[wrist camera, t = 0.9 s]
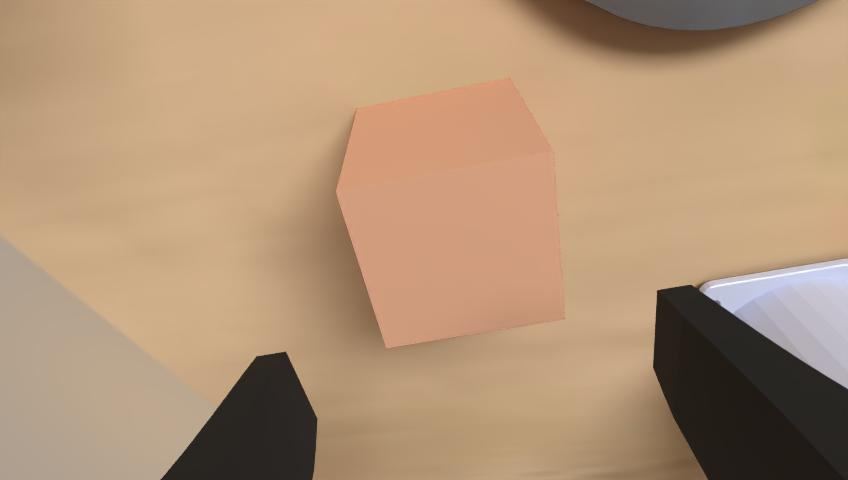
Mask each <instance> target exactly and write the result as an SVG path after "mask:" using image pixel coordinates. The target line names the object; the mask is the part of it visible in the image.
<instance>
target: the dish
mask: <svg viewBox="0 0 848 480" xmlns="http://www.w3.org/2000/svg"><path fill="white" fill-rule="evenodd" d="M586 1H588V2H589V3H591V4H593V5H595V6H598V7H600V8H602V9H604V10H606V11H608V12H610V13H612V14H614V15H616V16H618V17H621V18H624V19H628V20H631V21H634V22H638V23H641V24H644V25H647V26H653V27H660V28H667V29H674V30H716V29H723V28H730V27H737V26H744V25H748V24H752V23H756V22H759V21H763V20H767V19H770V18H774V17H778V16H781V15H783V14H786V13H788V12H791V11H793V10H796V9H798V8H801V7H803V6H806V5H809V4H811V3H813V2H815V1H817V0H586Z"/></svg>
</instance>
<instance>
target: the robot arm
mask: <svg viewBox="0 0 848 480" xmlns="http://www.w3.org/2000/svg"><path fill="white" fill-rule="evenodd" d="M714 300H715V301H714ZM653 368H654V371H655V373H656V376H657V378H658V381H659V383H660V386H661V388H662V391H663V393H664V396H665V398H666V400H667V403H668V405H669V407H670V410H671V412H672V415H673V417H674V419H675V421H676V422H677V424H678V426H679V428H680V430H681V432H682V433H683V435H684V437H685V439H686V441H687V442H688V444H689V446H690V448H691V450H692V451H693V453H694V455H695V457H696V459H697V460H698V462H699V464H700V466H701V467H702V469H703V471H704V473H705V475H706V476H707V478H708V480H848V258H846V259H840V260H834V261H827V262H821V263H815V264H809V265H803V266H797V267H791V268H785V269H779V270H773V271H767V272H761V273H755V274H749V275H743V276H737V277H731V278H725V279H719V280H713V281H709V282H706V283H705V284H703V285H702V286H701V287H700V289H699V290H698V289H697V288H695V287H694V286H692V285H686V286H680V287H674V288H668V289H662V290H657V305H656V324H655V343H654V361H653ZM316 434H317V417H316V415H315V413H314V411H313V409H312V407H311V404H310V402H309V400H308V398H307V396H306V394H305V392H304V389H303V387H302V385H301V383H300V381H299V379H298V377H297V374H296V372H295V370H294V368H293V366H292V364H291V362H290V359H289V357H288V355H287V353H286V352H281V353H275V354H269V355H263V356H257V357H256V358H255V359H254V361H253V362H252V363H251V364H250V366H249V367H248V368H247V370H246V371H245V372H244V373H243V375H242V376H241V377H240V379H239V380H238V382H237V383H236V384H235V386H234V387H233V388H232V390H231V391H230V392H229V394H228V395H227V396H226V398H225V399H224V400H223V402H222V403H221V404H220V406H219V407H218V408H217V410H216V411H215V412H214V414H213V415H212V416H211V418H210V419H209V420H208V421H207V423H206V424H205V425H204V427H203V428H202V429H201V431H200V432H199V433H198V434H197V436H196V437H195V438H194V440H193V441H192V442H191V444H190V445H189V446H188V447H187V449H186V450H185V451H184V452H183V454H182V455H181V456H180V457H179V459H178V460H177V461H176V462H175V463H174V464H173V466H172V467H171V468H170V469H169V470H168V472H167V473H166V474H165V475H164V476H163V478H162V479H161V480H312V478H313V472H314V463H315V451H316Z"/></svg>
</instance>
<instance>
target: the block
mask: <svg viewBox="0 0 848 480" xmlns="http://www.w3.org/2000/svg"><path fill="white" fill-rule="evenodd" d="M336 195H337V198H338V201H339V204H340V207H341V210H342V213H343V217H344V220H345V223H346V226H347V229H348V232H349V235H350V238H351V241H352V244H353V247H354V251H355V254H356V257H357V260H358V263H359V266H360V269H361V272H362V275H363V278H364V281H365V285H366V288H367V291H368V294H369V297H370V300H371V303H372V306H373V309H374V312H375V315H376V319H377V322H378V325H379V328H380V331H381V334H382V337H383V340H384V343H385V346H386V348H391V347H398V346H404V345H410V344H416V343H422V342H428V341H434V340H440V339H446V338H453V337H459V336H465V335H471V334H477V333H483V332H489V331H495V330H501V329H508V328H514V327H520V326H526V325H532V324H538V323H544V322H550V321H556V320H563V319H565V310H564V295H563V281H562V267H561V252H560V238H559V224H558V209H557V195H556V180H555V166H554V152H553V149H552V148H551V146H550V144H549V143H548V141H547V139H546V137H545V136H544V134H543V132H542V131H541V129H540V127H539V126H538V124H537V122H536V121H535V119H534V117H533V116H532V114H531V112H530V111H529V109H528V107H527V105H526V104H525V102H524V100H523V99H522V97H521V95H520V94H519V92H518V90H517V89H516V87H515V85H514V84H513V82H512V80H511V78H505V79H500V80H495V81H490V82H485V83H480V84H475V85H470V86H465V87H461V88H456V89H451V90H446V91H441V92H436V93H431V94H426V95H421V96H416V97H411V98H407V99H402V100H397V101H392V102H387V103H382V104H377V105H372V106H367V107H362V108H357V111H356V115H355V119H354V123H353V127H352V131H351V135H350V138H349V142H348V146H347V150H346V154H345V158H344V162H343V166H342V170H341V174H340V178H339V181H338V185H337V189H336Z"/></svg>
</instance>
